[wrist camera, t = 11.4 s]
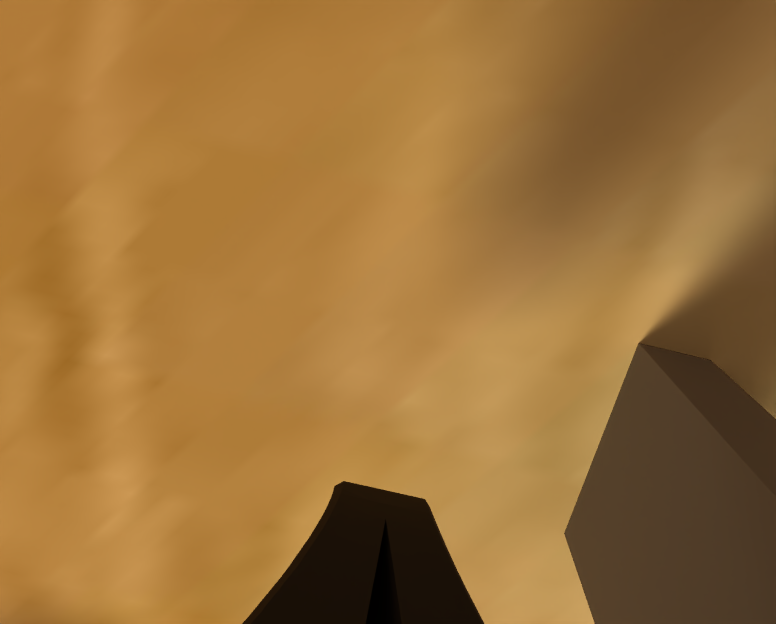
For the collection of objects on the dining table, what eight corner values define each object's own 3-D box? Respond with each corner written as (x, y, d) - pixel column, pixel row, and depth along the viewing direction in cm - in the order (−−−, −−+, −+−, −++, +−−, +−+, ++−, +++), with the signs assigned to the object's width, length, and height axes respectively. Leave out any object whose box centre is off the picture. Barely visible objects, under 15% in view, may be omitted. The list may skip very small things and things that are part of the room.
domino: (710, 359, 14) (985, 610, 7) (628, 547, 15) (791, 894, 9) (638, 343, 14) (849, 580, 7) (564, 533, 15) (678, 870, 9)
